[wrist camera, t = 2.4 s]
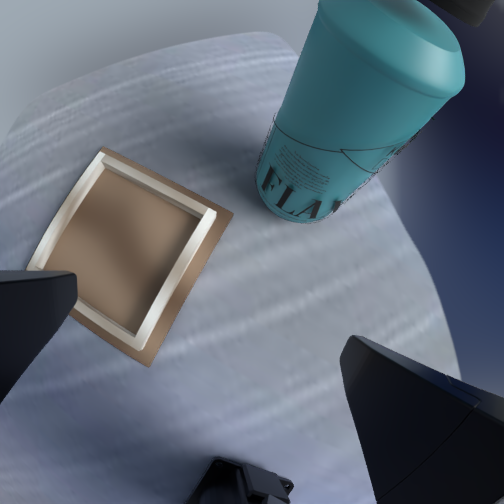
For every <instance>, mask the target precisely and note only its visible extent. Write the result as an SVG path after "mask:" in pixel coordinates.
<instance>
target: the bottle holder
mask: <svg viewBox="0 0 504 504" xmlns="http://www.w3.org/2000/svg"><path fill="white" fill-rule="evenodd" d="M233 214H234V213H232V212H230V211H228V210H226V209H224V208H222V207H221V206H219V205H217V204H215V203H213V202H211V201H209V200H207V199H205V198H204V197H202V196H200V195H198V194H196V193H194V192H192V191H190V190H188V189H186V188H184V187H182V186H181V185H179V184H177V183H175V182H173V181H171V180H169V179H167V178H165V177H163V176H161V175H159V174H157V173H155V172H153V171H151V170H149V169H147V168H145V167H143V166H142V165H140V164H138V163H136V162H134V161H132V160H130V159H128V158H126V157H124V156H122V155H120V154H118V153H116V152H114V151H112V150H110V149H108V148H106V147H102V148H101V150H100V151H99V152H98V154H97V155H96V156H95V158H94V159H93V160H92V162H91V163H90V164H89V166H88V167H87V168H86V170H85V171H84V173H83V174H82V175H81V177H80V178H79V180H78V181H77V182H76V184H75V185H74V187H73V188H72V190H71V191H70V193H69V194H68V196H67V197H66V199H65V200H64V202H63V204H62V205H61V207H60V208H59V210H58V212H57V213H56V215H55V216H54V218H53V220H52V221H51V223H50V225H49V226H48V228H47V230H46V232H45V233H44V235H43V237H42V239H41V241H40V242H39V244H38V246H37V248H36V250H35V252H34V254H33V255H32V257H31V259H30V261H29V263H28V265H27V267H26V269H25V271H49V270H66V271H70V272H73V273H75V274H76V275H77V287H78V299H77V302H76V304H75V306H74V307H73V309H72V310H71V312H70V313H69V315H70V316H72V317H73V318H74V319H76V320H77V321H78V322H80V323H81V324H82V325H84V326H85V327H87V328H88V329H89V330H91V331H92V332H94V333H95V334H97V335H98V336H99V337H101V338H102V339H104V340H105V341H107V342H108V343H110V344H111V345H113V346H114V347H116V348H117V349H119V350H121V351H122V352H124V353H125V354H127V355H128V356H130V357H132V358H133V359H135V360H137V361H138V362H140V363H142V364H143V365H145V366H147V367H148V368H149V367H150V365H151V363H152V362H153V360H154V358H155V356H156V354H157V352H158V350H159V348H160V346H161V344H162V342H163V341H164V339H165V337H166V335H167V333H168V331H169V329H170V327H171V326H172V324H173V322H174V320H175V318H176V316H177V314H178V313H179V311H180V309H181V307H182V305H183V303H184V302H185V300H186V298H187V296H188V294H189V292H190V291H191V289H192V287H193V285H194V283H195V282H196V280H197V278H198V276H199V274H200V273H201V271H202V269H203V267H204V266H205V264H206V262H207V260H208V258H209V257H210V255H211V253H212V251H213V250H214V248H215V246H216V244H217V243H218V241H219V239H220V237H221V236H222V234H223V232H224V230H225V229H226V227H227V225H228V224H229V222H230V220H231V218H232V217H233Z"/></svg>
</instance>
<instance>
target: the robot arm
mask: <svg viewBox="0 0 504 504" xmlns="http://www.w3.org/2000/svg"><path fill="white" fill-rule="evenodd" d="M77 299H78V287H77V275H76V274H75V273H73V272H70V271H66V270H49V271H0V404H1V402H2V401H3V399H4V398H5V397H6V395H7V394H8V393H9V391H10V390H11V388H12V387H13V386H14V384H15V383H16V382H17V380H18V379H19V378H20V376H21V375H22V374H23V373H24V371H25V370H26V369H27V367H28V366H29V365H30V364H31V362H32V361H33V360H34V359H35V357H36V356H37V355H38V354H39V352H40V351H41V350H42V349H43V348H44V346H45V345H46V344H47V343H48V342H49V340H50V339H51V338H52V337H53V336H54V334H55V333H56V332H57V331H58V329H59V328H60V326H61V325H62V323H63V322H64V320H65V319H66V317H67V316H68V314H69V313H70V312H71V310H72V309H73V307H74V306H75V304H76V302H77ZM340 366H341V372H342V377H343V383H344V388H345V393H346V397H347V401H348V404H349V407H350V410H351V414H352V417H353V420H354V423H355V427H356V430H357V434H358V437H359V440H360V444H361V447H362V451H363V454H364V458H365V461H366V465H367V469H368V472H369V476H370V480H371V483H372V487H373V491H374V495H375V499H376V501H377V504H504V398H503V397H500V396H498V395H495V394H493V393H490V392H487V391H485V390H482V389H479V388H477V387H474V386H472V385H469V384H467V383H465V382H462V381H460V380H458V379H455V378H453V377H451V376H449V375H445V374H443V373H441V372H439V371H436V370H434V369H432V368H430V367H427V366H425V365H423V364H421V363H419V362H416V361H414V360H412V359H410V358H408V357H406V356H403V355H401V354H399V353H397V352H395V351H393V350H390V349H388V348H386V347H384V346H382V345H380V344H378V343H375V342H373V341H371V340H369V339H367V338H365V337H363V336H357V335H352V336H350V337H349V339H348V341H347V343H346V345H345V347H344V349H343V351H342V353H341V356H340ZM217 462H221V463H222V464H221V465H216V463H217ZM287 484H288V485H289V486H288V487H284V486H285V485H287ZM293 487H294V484H293V483H292V481H291V480H288V479H284V478H281V477H278V476H277V474H276V473H273V472H269V471H266V470H263V469H260V468H257V467H254V466H251V465H248V464H244V465H240V464H238V463H235V462H232V461H230V460H227V459H224V458H222V457H216V458H214V459H213V460H212V461H211V463H210V464H209V466H208V468H207V469H206V471H205V473H204V474H203V476H202V477H201V479H200V480H199V482H198V484H197V485H196V487H195V488H194V490H193V491H192V493H191V494H190V496H189V498H188V499H187V501H186V502H185V504H290V500H289V497H288V495H289V493H290V492H291V491H292V489H293Z"/></svg>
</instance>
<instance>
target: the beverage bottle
mask: <svg viewBox="0 0 504 504" xmlns="http://www.w3.org/2000/svg"><path fill="white" fill-rule="evenodd" d="M430 1H431V2H433V3H434V4H436V5H438V6H439V7H441V8H442V9H444V10H445V11H447V12H448V13H450V14H452V15H453V16H455V17H456V18H458V19H460V20H462V21H463V22H465V23H467V24H469V25H471V26H474V27H478V26H479V25H480V23H481V22H482V21H483V20H484V18H485V17H486V14H487V12H488V10H489V8H490V7H491V6H492V4H493V3H494V1H495V0H430ZM464 82H465V69H464V64H463V58H462V53H461V50H460V46H459V43H458V41H457V39H456V37H455V36H454V34H453V33H452V32H451V30H450V29H449V28H448V27H447V26H446V24H445V23H444V22H442V20H441V19H439V18H438V17H437V16H436V15H435V14H434V13H433V12H432V11H430V10H429V9H428V8H426V7H425V6H424V5H422V4H421V3H419V2H418V1H416V0H319V3H318V11H317V13H316V16H315V19H314V21H313V24H312V26H311V29H310V31H309V34H308V37H307V39H306V42H305V44H304V47H303V50H302V52H301V55H300V58H299V60H298V63H297V66H296V68H295V71H294V74H293V76H292V79H291V82H290V84H289V87H288V90H287V92H286V95H285V98H284V101H283V103H282V106H281V108H280V109H279V112H278V114H277V117H276V120H275V121H274V125H273V128H272V130H271V133H270V136H269V138H268V135H267V136H266V137H267V138H268V141H267V144H265V143H264V144H265V146H266V147H265V149H264V152H261V153H262V158H261V160H260V158H259V160H258V161H259V166H258V169H257V167H256V171H257V178H256V180H257V185H258V189H259V193H260V194H259V195H261V198H262V200H263V201H264V203H265V204H266V206H267V207H268V208H269V209H270V210H271V211H272V212H273V213H275V214H276V215H278V216H279V217H281V218H283V219H285V220H288V221H292V222H297V223H308V222H313V221H318V220H320V219H321V220H322V218H324V217H326V216H327V215H328V214H330V213H331V212H332V211H333V213H334V212H336V210H338V208H339V206H340V204H341V203H342V204H343V203H344V202H343V201H344V200H345V199H346V198H347V197H348V196H349V195H350V194H352V193H354V191H355V190H356V189H357V188H358V187H359V186H360V185H361V184H362V183H363V182H364V183H365V181H366V180H367V179H369V177H370V176H371V175H372V174H373V173H374V172H376V170H377V169H379V168H380V167H381V166H382V165H383V164H384V163H385V162H386V161H387V160H389V158H390V157H391V156H392V155H395V154H397V153H398V152H397V151H399V149H400V148H402V147H404V148H405V147H407V146H408V145H409V144H407V145H406V146H405V145H404V144H405V143H406V142H407V141H408V140H409V139H412V138H413V137H415V135H414V134H415V133H416V132H417V131H418V130H419V131H420V128H422V127H423V126H424V125H425V124H426V123H427V122H428V121H429V120H430V118H432V119H433V120H434V118H433V117H432V116H433V115H434V114H435V113H436V112H437V111H438V110H439V109H440V108H441V107H442V106H443V105H444V104H445V103H446V102H447V101H448V100H449V99H450V98H451V97H452V96H455V95H456V94H458V93H459V92H460V90H461V89H462V88H463V86H464ZM275 113H276V112H275ZM274 116H275V115H274ZM273 120H274V117H273ZM270 127H271V126H270ZM269 130H270V129H269ZM419 131H418V132H419ZM418 132H417V133H418ZM417 133H416V134H417ZM268 134H269V133H268ZM413 135H414V136H413ZM417 135H418V134H417ZM412 136H413V137H412ZM416 137H417V136H416ZM416 137H415V138H416ZM412 140H413V139H412ZM412 140H411V141H412ZM265 141H266V140H265ZM411 141H410V142H411ZM403 145H404V146H403ZM402 149H403V148H402ZM400 150H401V149H400ZM262 151H263V150H262ZM396 152H397V153H396ZM397 155H398V154H397ZM260 156H261V155H260ZM260 156H259V157H260ZM388 163H389V162H388ZM388 163H387V164H388ZM387 164H386V165H387ZM256 166H257V165H256ZM384 166H385V165H384ZM376 173H378V172H376ZM374 174H375V173H374ZM373 176H374V175H373ZM371 177H372V176H371ZM371 177H370V178H371ZM371 179H372V178H371ZM367 181H368V180H367ZM369 181H370V180H369ZM369 181H368V182H369ZM255 183H256V181H255ZM366 184H367V183H366ZM366 184H365V185H366ZM256 187H257V186H256ZM362 187H363V186H362ZM258 189H257V190H258ZM360 189H361V187H360ZM358 190H359V188H358ZM356 191H357V190H356ZM355 193H356V192H355ZM355 193H354V194H355ZM354 194H353V195H354ZM353 195H352V196H353ZM352 196H350V197H352ZM348 200H349V199H347V201H348ZM345 203H346V202H345ZM329 217H330V216H329ZM319 222H320V221H319ZM314 223H316V222H314Z"/></svg>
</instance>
